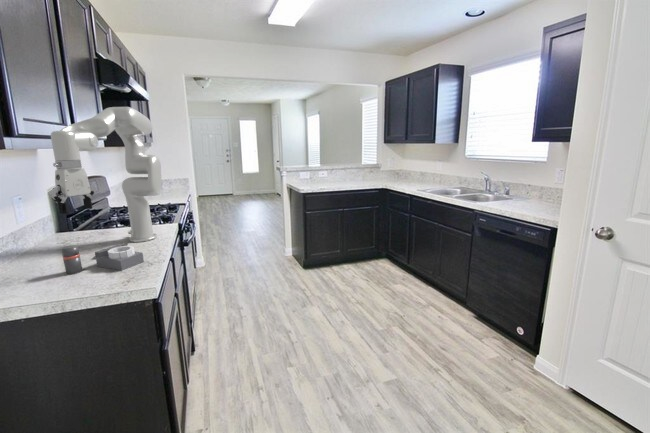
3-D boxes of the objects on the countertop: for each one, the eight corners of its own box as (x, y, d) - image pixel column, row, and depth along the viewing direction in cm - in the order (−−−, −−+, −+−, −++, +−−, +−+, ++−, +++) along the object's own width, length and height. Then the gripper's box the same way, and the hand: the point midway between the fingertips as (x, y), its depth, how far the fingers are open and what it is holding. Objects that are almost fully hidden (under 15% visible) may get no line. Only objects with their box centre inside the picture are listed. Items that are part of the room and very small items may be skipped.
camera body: (97, 266, 137) (94, 251, 135) (119, 258, 146) (117, 243, 144) (122, 270, 132) (119, 254, 130) (143, 261, 141) (141, 246, 139)
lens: (63, 273, 130) (57, 248, 128) (76, 268, 135) (72, 244, 132) (72, 275, 128) (66, 250, 126) (85, 270, 133) (80, 246, 130)
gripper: (53, 166, 115) (62, 215, 119) (97, 164, 132) (104, 207, 135) (36, 167, 117) (45, 215, 121) (82, 164, 134) (89, 206, 137)
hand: (76, 210), depth 128 cm, fingers open, 9 cm apart
